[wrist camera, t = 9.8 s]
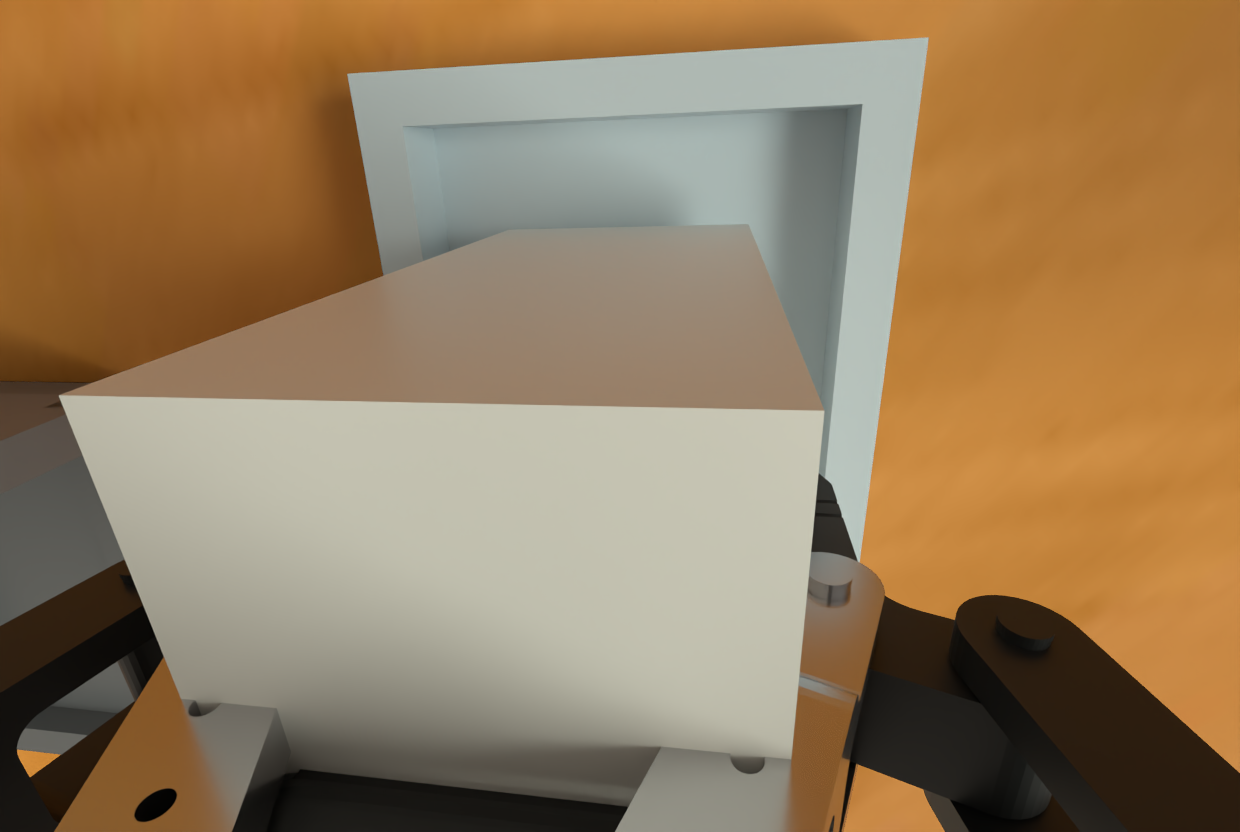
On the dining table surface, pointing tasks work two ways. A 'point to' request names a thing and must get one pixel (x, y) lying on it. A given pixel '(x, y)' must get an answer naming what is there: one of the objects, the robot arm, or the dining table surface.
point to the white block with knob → (485, 512)
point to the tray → (679, 182)
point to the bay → (52, 544)
